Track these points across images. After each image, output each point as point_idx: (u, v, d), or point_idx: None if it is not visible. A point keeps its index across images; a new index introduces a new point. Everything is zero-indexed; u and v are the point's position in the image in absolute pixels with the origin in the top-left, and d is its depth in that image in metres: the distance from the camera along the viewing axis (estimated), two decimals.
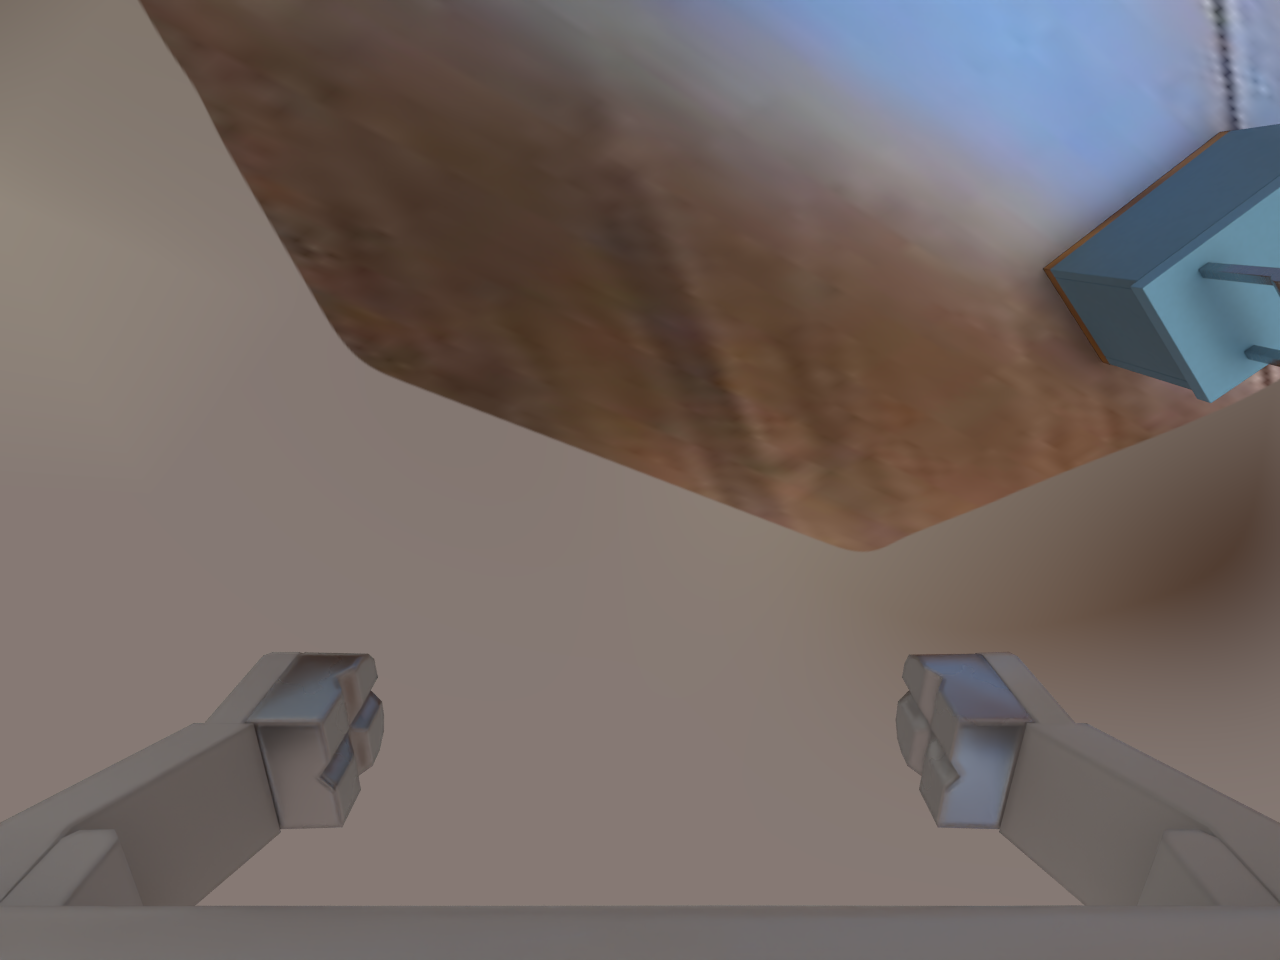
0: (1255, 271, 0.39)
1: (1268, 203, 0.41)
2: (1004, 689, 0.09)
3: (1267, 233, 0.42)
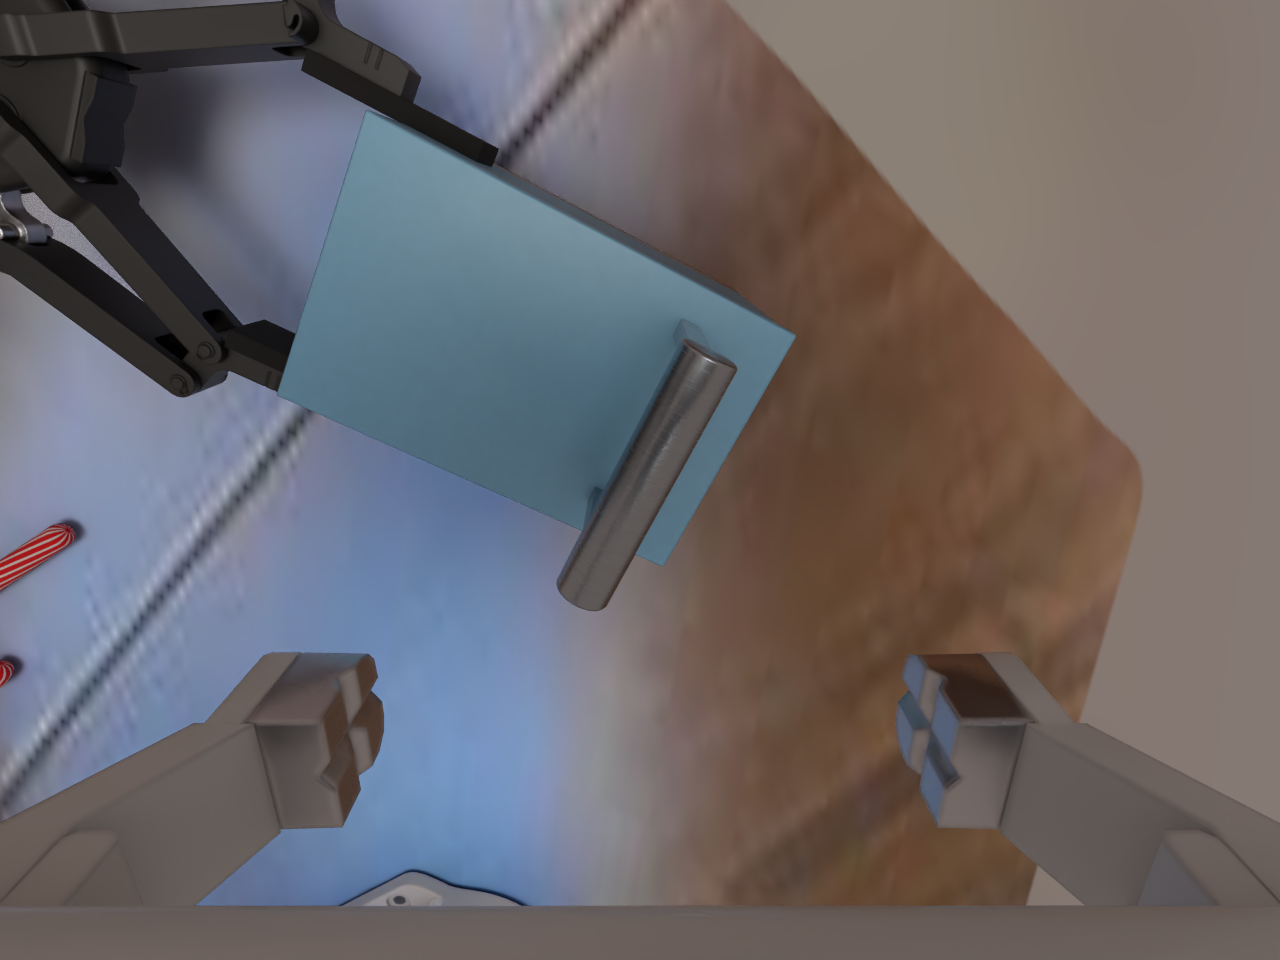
0: None
1: (475, 472, 0.25)
2: (1004, 689, 0.09)
3: (510, 443, 0.24)
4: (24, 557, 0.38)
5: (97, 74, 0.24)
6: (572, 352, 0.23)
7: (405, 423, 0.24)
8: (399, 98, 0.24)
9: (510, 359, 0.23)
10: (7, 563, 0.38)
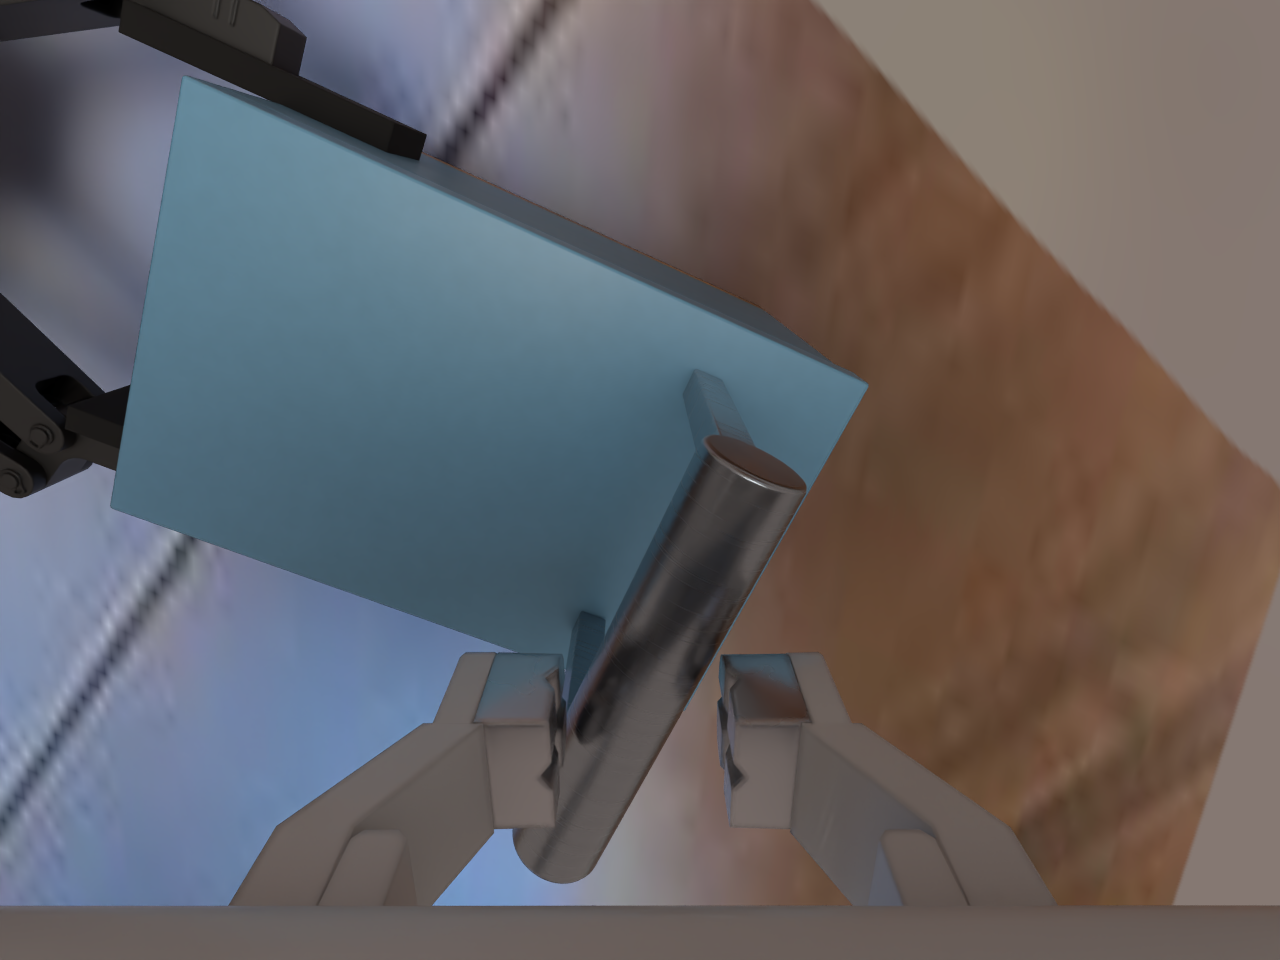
0: None
1: (406, 599, 0.17)
2: (794, 689, 0.09)
3: (454, 557, 0.17)
4: None
5: None
6: (534, 426, 0.16)
7: (300, 538, 0.17)
8: (266, 65, 0.16)
9: (443, 440, 0.16)
10: None
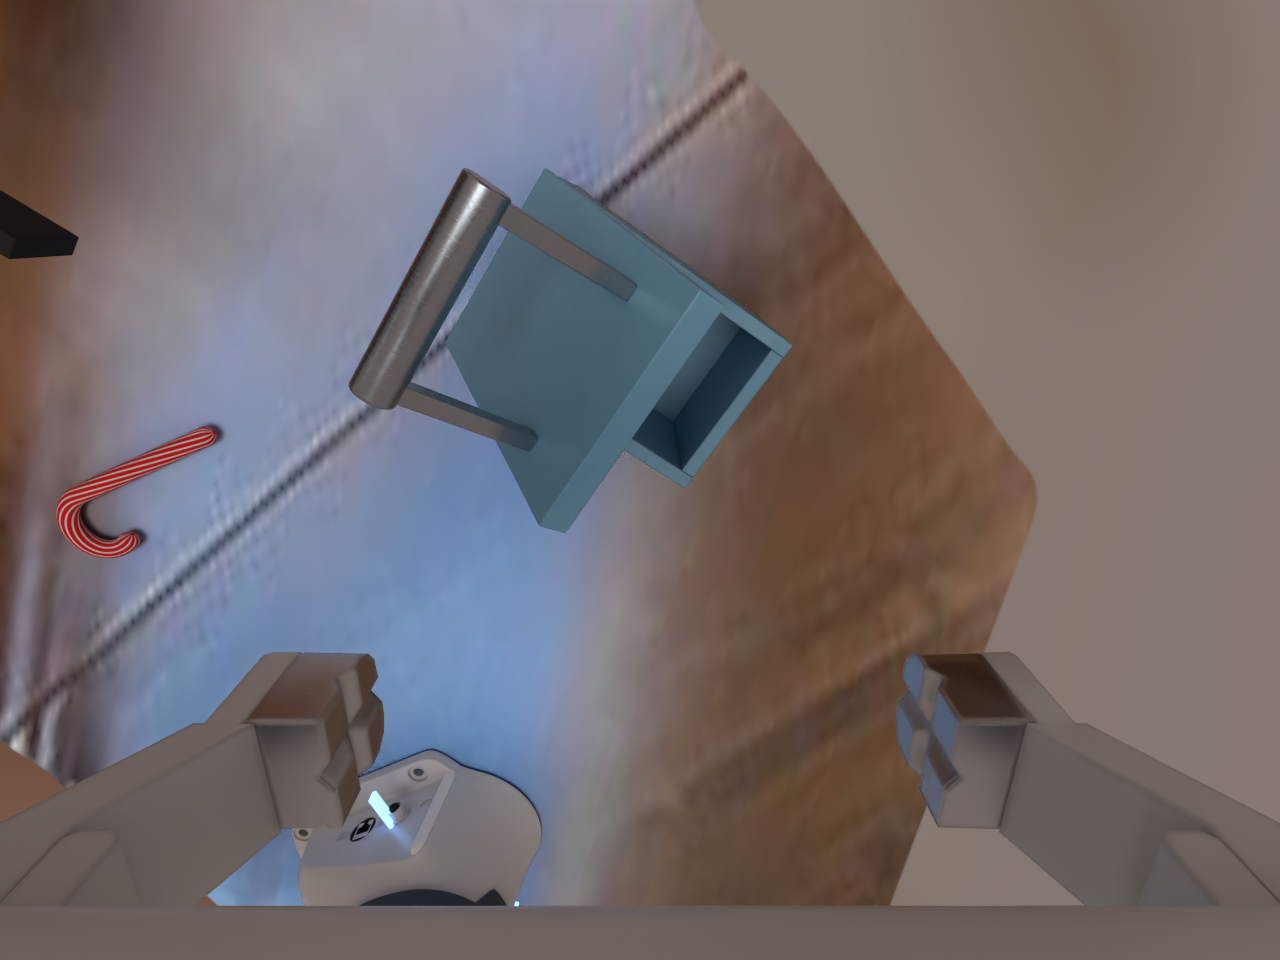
0: (433, 415, 0.24)
1: (486, 405, 0.30)
2: (1004, 689, 0.09)
3: (509, 384, 0.29)
4: (177, 448, 0.48)
5: None
6: (563, 310, 0.27)
7: (476, 364, 0.32)
8: None
9: (534, 317, 0.29)
10: (162, 452, 0.48)
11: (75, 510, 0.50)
